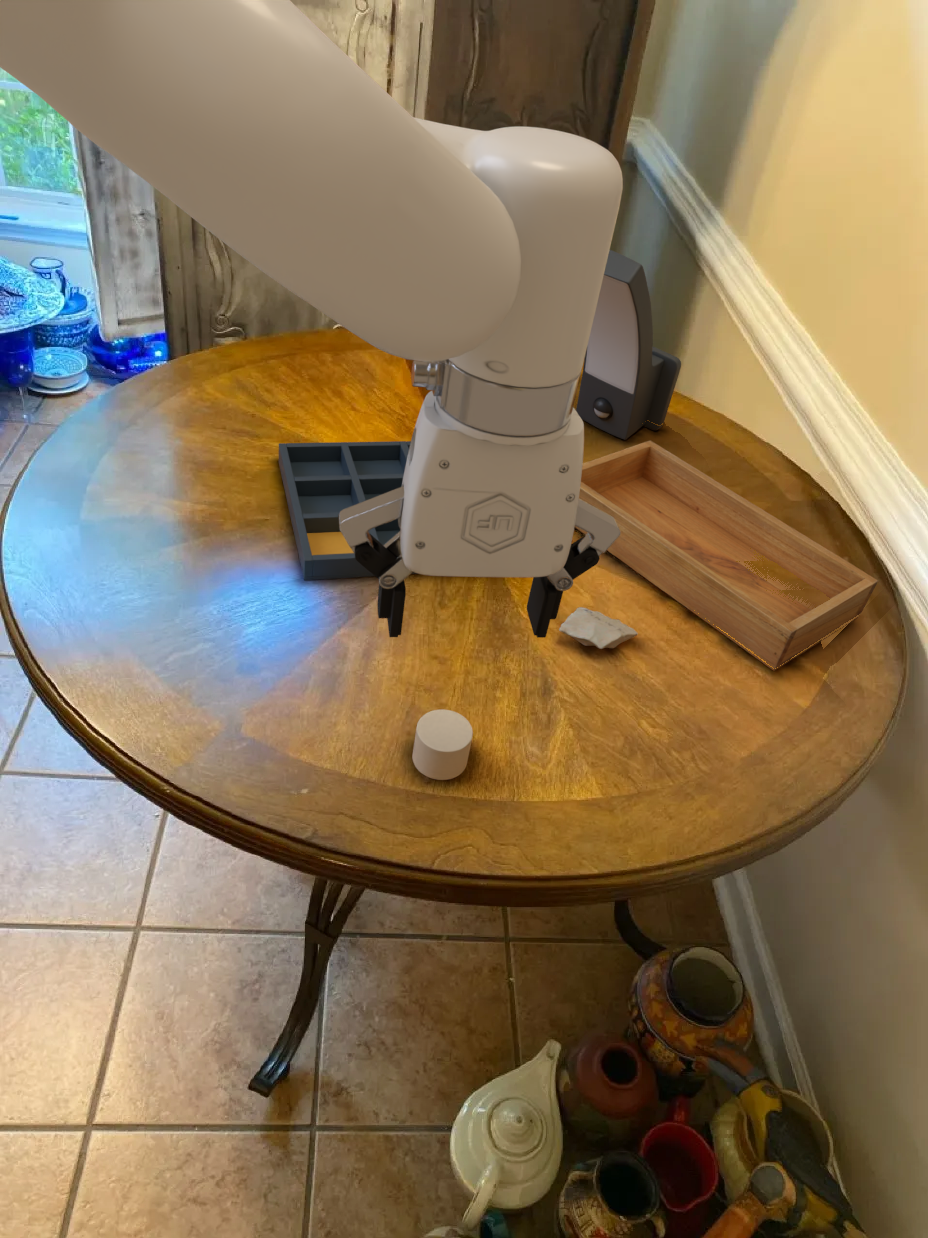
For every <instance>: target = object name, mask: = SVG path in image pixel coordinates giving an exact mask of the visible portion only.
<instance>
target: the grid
mask: <svg viewBox="0 0 928 1238" xmlns="http://www.w3.org/2000/svg"><path fill="white" fill-rule="evenodd" d="M410 443H411V440H409V441H406V440H404V441H403V440H402V441H401V440H399V441H398V440H397V441H352V442H351V441H343V442H342V441H337V442H336V441H335V442H333V441H332V442H331V441H330V442H286V443H285V442H284V443H283V442H281V443H278V465H279V470H280V474H281V480H282V484H283V489H284V494H285V498H286V503H287V508H288V511H289V517H290V521H291V525H292V526H291V527H292V531H293V535H294V540H295V545H296V549H297V554H298V559H299V563H300V569H301V572H302V577H303V580H304V581H313V580H315V581H316V580H331V579H332V580H333V579H349V578H364V577H375V576H374V575H373V574H372V573H371V572H369V571H368V570H367V569H366V568H365V567H364V566H362V565H361V564H360V563H359V562H358V561H357V560H356V558H355V554H354V552H353V551H352V549H351V548H350V547H349V545H348V543H347V541H346V540H345V538H344V536H343V534H342V533H341V531H340V528H339V513H340V511H341V510H343V509H346V508H348V507H351V506H353V505H356V504H358V503H361V502H364V501H366V500H369V499H371V498H374V497H376V496H379V495H382V494H384V493H387V492H389V491H392V490H394V489H397V488H400V487H402V481H403V476H404V471H405V466H406V461H407V457H408V452H409V448H410ZM399 531H400V528H399V525H398V519H396V520H393V521H391V522H388V523H385V524H383V525H380V526H378V527H375V528H372V529H370V530H369V531H368V532H369V534H371V535H372V536H373V537H374V538H375V539H377V540H378V541H379V542H380V543H381V544H382V545H384V544H385V543H387V542H388V541H389V540H390V539H391V538H392V537H394V536H395V535H396V534H397V533H398V532H399ZM416 574H418V573H415V572H413V573H411V574H410V575H416ZM418 575H419V574H418Z"/></svg>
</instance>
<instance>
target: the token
mask: <svg viewBox="0 0 928 1238" xmlns="http://www.w3.org/2000/svg"><path fill="white" fill-rule="evenodd" d="M417 721H418V722H417V724H416V727H415V735H414V740H413V748H412V757H411V758H412V762H413V766H414V767H415V769H416V770H417V771H418V772H419V773H421V774H422V775H423V776H425V777H427V778H430V779H431V780H438V781H448V780H452V779H454V778H457V777H458V776H460V775H461V774H462V773H464V771H465V770H466V768H467V764H468V760H469V756H470V752H471V751H470V750H471V745H472V742H473V736H474V731H473V726H472V724H471V723H470V721H469V720H468V719H467V718H466V716H463V714H461V713H458V712H457V711H454V710H451V709H445V708H444V709H443V708H441V709H433V710H431V711H428V712H426V713H425V714H423V715H422V716H421V717H420V718H419V719H418V720H417Z"/></svg>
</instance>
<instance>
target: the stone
mask: <svg viewBox="0 0 928 1238" xmlns="http://www.w3.org/2000/svg"><path fill="white" fill-rule="evenodd" d="M558 631H559V632H560V633H563V634H565V635H567V636H569V637H571V638H572V639H574V640H575V641H577V642H578V643H580V644H582V645H583V646H585V647H591V646H593V647H594V646H595V647H596V648H597V649H600V650H602V649H605V648H607V649H608V648H609V649H614V648H617V646H619V645H621V644H622V643H624V642H627V641H628V640H630V639H633V638H634V637H637V636H638V635H639V633H638V632H637V631H636V630H635V628H633V627H631V626H629V625H628V624H626V623H623V622H622V621H621V620H620V619H619V618H618V619H617V618H616V619H615V618H611V617H610V616H608V615H605V614H603V613H602V612H600V611H597V610H591V609H589V608H587V607H584V606H579V607H577V608H576V609H575V610H574V612H571V613H570V614H569V615H568V616H567V618H566V620H564V621H563V622H562V623H561V624H560V627H559V628H558Z"/></svg>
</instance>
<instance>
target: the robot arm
mask: <svg viewBox="0 0 928 1238" xmlns="http://www.w3.org/2000/svg"><path fill="white" fill-rule="evenodd" d="M0 69H2V70H3V71H4V72H5V73H7V74H9V75H10V76H11V77H13V78H14V79H16V80H17V81H18V82H20V83H21V84H22V85H23V86H25V87H26V88H28V89H29V90H30V91H32V92H33V93H34V94H35V95H37V96H38V97H40V99H42V100H43V101H44V102H45V103H46V104H48V106H50V107H51V109H53V110H55V112H57V113H58V115H60V116H61V117H63V118H64V119H65V120H66V121H67V122H68V123H69V124H70V125H72V126H73V128H75V129H76V130H77V131H78V132H79V133H81V134H82V135H83V136H85V137H86V138H87V139H89V140H90V141H91V142H92V143H93V144H95V145H96V146H97V147H99V148H100V149H102V150H103V151H105V152H106V153H108V154H109V155H110V156H111V157H112V158H114V159H115V160H117V161H118V162H119V163H121V164H122V165H123V166H125V167H126V168H127V169H129V170H131V171H132V172H134V173H135V174H136V175H137V176H139V177H140V178H141V179H143V180H144V181H145V182H147V183H148V184H149V185H150V186H152V187H153V188H154V189H155V190H156V191H158V192H160V194H162V195H163V196H164V197H166V198H167V199H168V200H169V201H170V202H172V203H173V204H174V205H176V207H178V208H179V209H180V210H182V211H183V212H184V213H186V214H187V215H188V216H189V217H191V218H192V219H193V220H194V221H195V222H197V223H198V224H199V225H200V226H202V227H203V228H204V229H206V230H207V231H208V232H209V233H210V234H212V235H213V236H215V237H216V238H217V239H218V240H220V241H221V242H223V243H224V244H225V245H226V246H228V247H229V248H230V249H231V250H233V251H234V252H235V253H236V254H238V255H239V256H240V257H242V258H243V259H244V260H246V261H247V262H249V263H250V264H251V265H252V266H254V267H255V268H257V269H258V270H259V271H261V272H262V273H263V274H265V275H266V276H268V277H269V278H270V279H272V280H273V281H274V282H277V283H278V284H279V285H280V286H282V287H283V288H285V289H286V290H288V291H289V292H291V293H292V294H294V295H295V296H296V297H298V298H300V300H302V301H305V303H307V304H308V305H310V306H312V307H313V308H315V309H316V310H318V311H319V312H320V313H322V314H323V315H325V316H326V317H328V318H329V319H331V320H333V321H334V322H335V323H336V324H338V325H339V326H341V327H343V328H344V329H346V330H347V331H349V332H350V333H352V334H353V335H355V336H357V338H360V339H361V340H363V341H364V342H366V343H368V345H369V344H370V345H371V346H373V348H376V349H378V350H380V351H382V352H384V353H386V354H388V355H391V356H395V357H398V358H400V359H404V360H407V361H412V364H411V375H410V376H411V379H410V381H411V386H412V387H413V388H415V387H416V388H425V390H426V391H429V392H428V393H427V394H426V395H425V397H424V399H423V402H422V404H421V408H420V409H419V413H418V416H417V419H416V421H415V425H414V428H413V432H412V436H411V440H410V441H411V443H410V448H409V452H408V457H407V461H406V466H405V471H404V476H403V481H402V487H400V488H397V489H394V490H392V491H389V492H387V493H384V494H382V495H379V496H376V497H374V498H371V499H369V500H366V501H364V502H361V503H358V504H356V505H353V506H351V507H348V508H346V509H343V510H341V511H340V513H339V528H340V531H341V533H342V534H343V536H344V538H345V540H346V541H347V543H348V545H349V547H350V548H351V549H352V551H353V552H354V554H355V558H356V560H357V561H358V562H359V563H360V564H361V565H362V566H364V567H365V568H366V569H367V570H368V571H369V572H371V573H372V574H373V575H374V576H373V577H376V579H378V593H377V617H378V619H387V628H388V637H389V638H398V637H399V636H402V630H403V629H402V628H403V623H404V622H403V619H404V613H405V612H404V611H405V603H406V596H407V595H406V594H407V593H406V592H407V591H406V584H405V583H406V582H405V579H407V578H408V577H410V575H412V574H411V573H413V572H415V573H418V575H423V576H430V577H453V578H454V577H458V578H459V577H462V578H468V577H469V578H532V580H531V581H532V582H531V586H530V591H529V595H528V598H527V603H526V613H527V616H528V619H529V622H530V626H531V629H532V633H533V636H536V638H541V639H543V638H544V639H545V638H546V637H547V635H548V634H547V633H548V630H549V626H550V622H551V620H556V619H557V616H558V613H559V609H560V606H561V602H562V597H563V594H564V592H565V591H566V592H567V591H569V590H570V589H571V588H572V587H573V585H574V580H575V579H577V578H578V577H580V576H581V575H582V574H584V573H586V572H587V571H588V570H590V569H592V568H593V567H595V566H596V565H597V564H598V563H599V561H600V556H601V555H602V554H604V553H606V552H607V549H608V548H609V547H610V546H611V545H612V544H613V543H614V542H615V540H616V539H617V538H618V537H619V536H620V533H621V531H620V529H619V527H618V524H617V522H616V520H615V518H614V517H612V516H610V515H609V514H607V513H605V512H603V511H601V510H599V509H598V508H596V507H594V506H592V505H590V504H588V503H587V502H585V501H583V500H581V499H579V493H580V485H581V475H582V466H583V464H584V449H585V424H584V420H583V419H581V417H580V416H579V415H578V413H577V411H576V408H575V407H574V405H575V401H576V397H577V393H578V388H579V383H580V380H581V379H580V378H581V376H582V372H583V367H584V359H585V354H586V349H587V345H588V341H589V336H590V332H591V328H592V323H593V319H594V315H595V310H596V306H597V302H598V297H599V293H600V289H601V284H602V280H603V276H604V271H605V267H606V263H607V258H608V254H609V250H611V244H612V241H613V236H614V232H615V228H616V224H617V218H618V216H619V215H618V214H619V211H620V205H621V200H622V195H623V189H624V185H623V184H624V183H623V181H624V178H623V172H622V168H621V165H620V163H619V161H618V160H617V158H616V157H615V156H614V154H613V153H612V152H610V151H609V150H608V149H607V148H606V147H604V146H602V145H601V144H599V143H597V142H596V141H593V140H591V139H588V138H586V137H584V136H581V135H577V134H573V133H570V132H565V131H561V130H556V129H551V128H545V127H537V126H522V125H521V126H505V127H500V128H494V129H490V130H480V129H473V128H469V127H463V126H457V125H451V124H447V123H446V124H445V123H441V122H436V121H432V120H427V119H423V118H420V117H414V116H412V115H411V114H410V113H409V111H407V110H406V109H405V108H404V107H403V106H402V105H401V104H400V103H399V102H398V101H397V100H396V99H395V98H394V97H392V95H390V94H389V93H388V92H387V91H386V90H385V89H384V88H383V87H382V86H381V85H380V84H379V83H377V82H376V81H375V80H374V78H372V77H371V76H370V75H369V74H368V73H367V72H366V71H365V70H364V69H363V68H362V67H360V66H359V65H358V64H357V63H356V62H355V61H354V60H353V59H352V58H351V57H350V56H348V55H347V53H345V52H344V51H343V49H342V48H340V46H338V45H337V44H336V43H335V42H334V41H332V39H330V37H328V36H327V35H326V33H324V32H323V31H322V30H321V29H320V28H319V27H318V26H317V24H316V23H314V22H313V21H312V20H311V19H310V18H309V17H308V16H307V15H306V13H305V14H304V12H302V11H301V9H300V8H299V7H298V6H297V5H296V4H294V2H292V1H291V0H0ZM396 519H398V525H399V528H400V531H399V532H398V533H397V534H396V535H395V536H394V537H392V538H391V539H390V540H389V541H388V542H387V543H385V544H384V545H382V544H381V543H380V542H379V541H378V540H377V539H375V538H374V537H373V536H372V535H371V534H369V532H368V531H369V530H370V529H372V528H375V527H378V526H380V525H383V524H385V523H388V522H391V521H393V520H396ZM575 526H577V527H578V528H580V529H582V530H584V531H586V532H587V533H586V534H584V536H583V537H581V538H578V539H577V540H575V541H574V542H573V538H574V533H575ZM572 542H573V543H572Z"/></svg>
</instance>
